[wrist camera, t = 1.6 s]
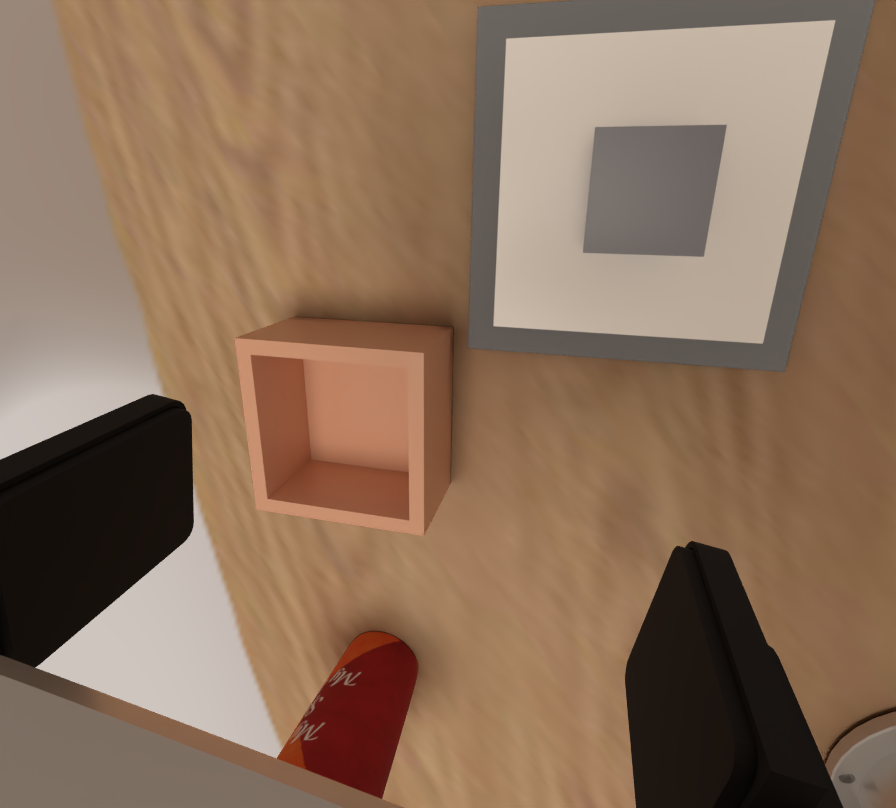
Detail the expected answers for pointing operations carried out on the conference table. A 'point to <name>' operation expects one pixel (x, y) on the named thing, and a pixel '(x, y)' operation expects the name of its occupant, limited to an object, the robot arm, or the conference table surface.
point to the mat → (643, 9)
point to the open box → (349, 420)
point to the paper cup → (357, 715)
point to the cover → (653, 177)
